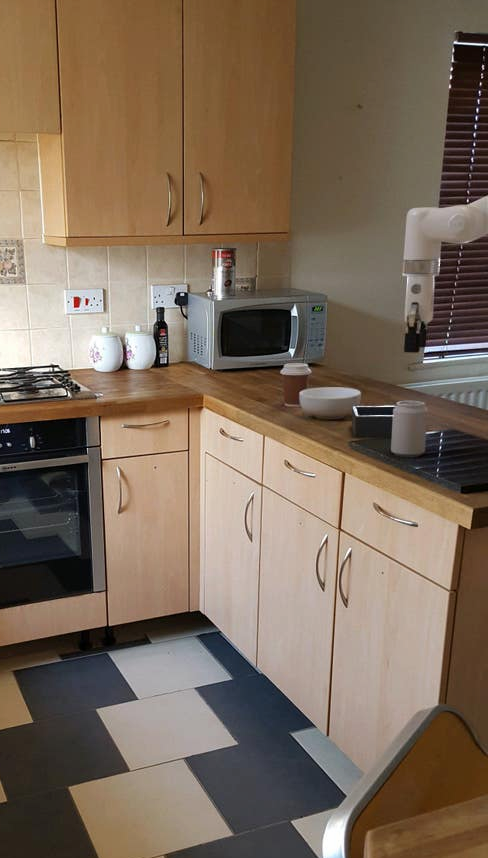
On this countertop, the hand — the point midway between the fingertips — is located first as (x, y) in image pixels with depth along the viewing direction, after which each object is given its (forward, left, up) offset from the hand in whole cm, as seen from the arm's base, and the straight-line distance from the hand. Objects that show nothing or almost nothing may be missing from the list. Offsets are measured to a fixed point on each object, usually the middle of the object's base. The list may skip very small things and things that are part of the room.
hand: (415, 349), depth 194 cm
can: (0, +1, -24) cm, 24 cm away
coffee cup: (+41, -54, -24) cm, 72 cm away
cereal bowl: (+27, -38, -24) cm, 52 cm away
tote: (+10, -21, -24) cm, 33 cm away
